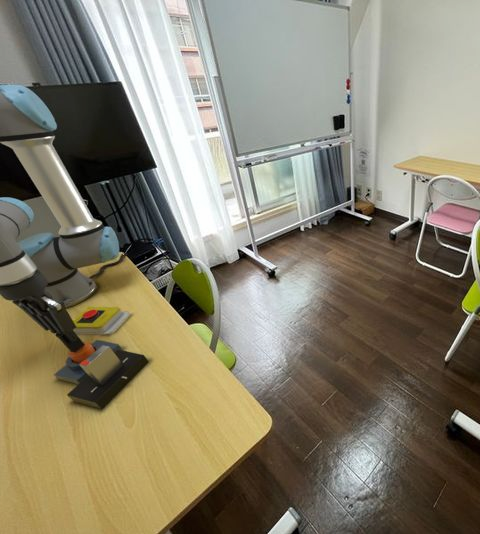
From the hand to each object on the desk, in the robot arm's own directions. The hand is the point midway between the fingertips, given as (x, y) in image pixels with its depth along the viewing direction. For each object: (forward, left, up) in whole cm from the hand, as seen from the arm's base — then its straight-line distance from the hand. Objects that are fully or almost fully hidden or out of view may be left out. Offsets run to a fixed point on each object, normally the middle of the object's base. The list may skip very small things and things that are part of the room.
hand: (77, 348), depth 78 cm
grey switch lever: (+3, +12, -4) cm, 13 cm away
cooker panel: (+3, +11, -7) cm, 13 cm away
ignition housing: (0, 0, -7) cm, 7 cm away
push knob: (0, 0, -3) cm, 3 cm away
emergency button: (-13, -13, -7) cm, 19 cm away
